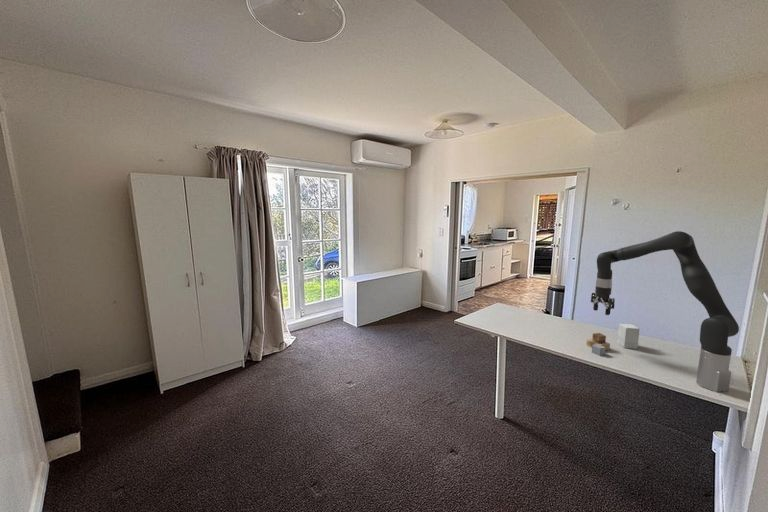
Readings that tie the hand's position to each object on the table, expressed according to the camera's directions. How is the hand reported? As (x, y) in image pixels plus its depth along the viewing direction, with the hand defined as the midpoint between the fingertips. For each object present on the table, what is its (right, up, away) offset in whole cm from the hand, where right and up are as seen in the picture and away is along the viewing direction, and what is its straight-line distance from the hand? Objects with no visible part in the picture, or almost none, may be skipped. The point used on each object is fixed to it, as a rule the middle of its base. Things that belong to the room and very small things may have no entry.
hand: (601, 312), depth 175 cm
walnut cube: (0, -18, +3) cm, 18 cm away
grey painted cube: (-5, -23, -4) cm, 24 cm away
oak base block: (0, -22, +3) cm, 22 cm away
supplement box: (+19, -21, +5) cm, 29 cm away
